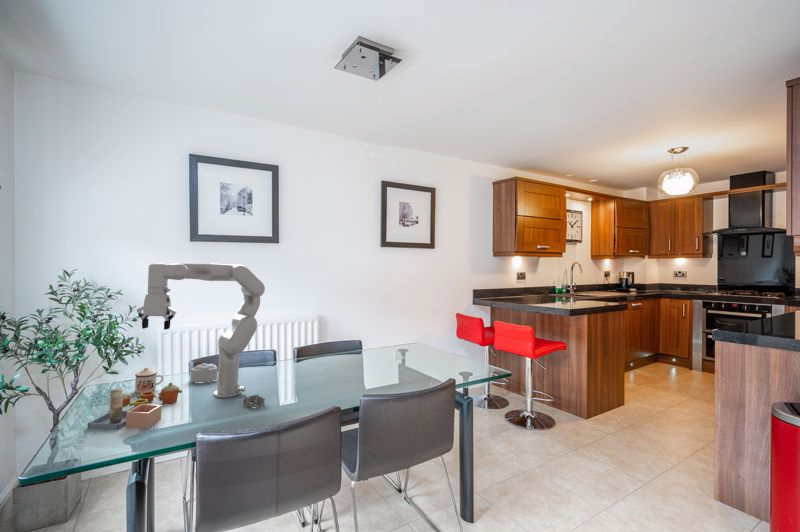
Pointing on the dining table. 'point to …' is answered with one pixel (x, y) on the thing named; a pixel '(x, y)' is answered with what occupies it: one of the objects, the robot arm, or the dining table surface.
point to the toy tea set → (166, 394)
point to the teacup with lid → (146, 380)
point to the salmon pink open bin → (143, 416)
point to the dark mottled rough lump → (254, 401)
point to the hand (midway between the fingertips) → (155, 328)
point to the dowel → (116, 406)
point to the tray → (107, 422)
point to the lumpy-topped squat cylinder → (204, 373)
